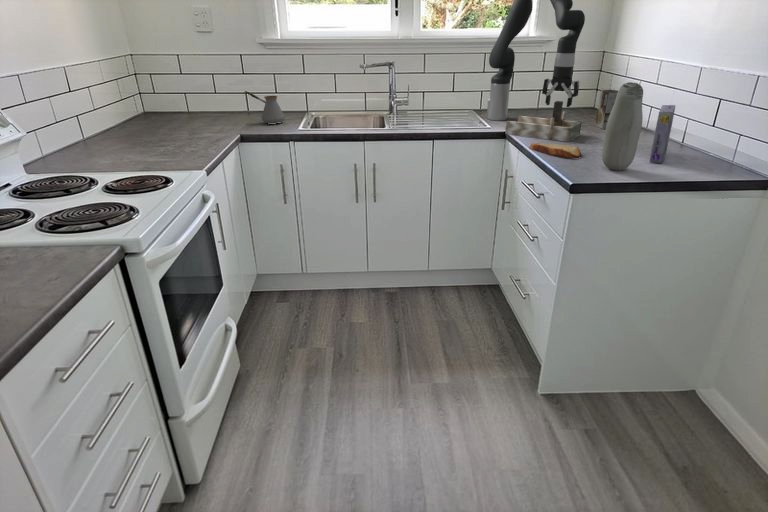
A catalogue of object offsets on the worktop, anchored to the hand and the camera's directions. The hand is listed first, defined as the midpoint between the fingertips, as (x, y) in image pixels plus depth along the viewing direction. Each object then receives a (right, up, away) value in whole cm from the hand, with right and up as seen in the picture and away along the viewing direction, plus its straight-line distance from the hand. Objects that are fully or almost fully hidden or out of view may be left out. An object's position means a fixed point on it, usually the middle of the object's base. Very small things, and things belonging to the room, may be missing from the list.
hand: (557, 105), depth 206 cm
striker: (0, -8, +4) cm, 9 cm away
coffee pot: (-134, +4, +41) cm, 140 cm away
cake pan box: (+27, -27, -27) cm, 47 cm away
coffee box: (+29, -4, +20) cm, 35 cm away
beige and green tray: (-5, -10, +9) cm, 14 cm away
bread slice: (-8, -24, -19) cm, 32 cm away
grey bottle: (+5, -34, -40) cm, 52 cm away
